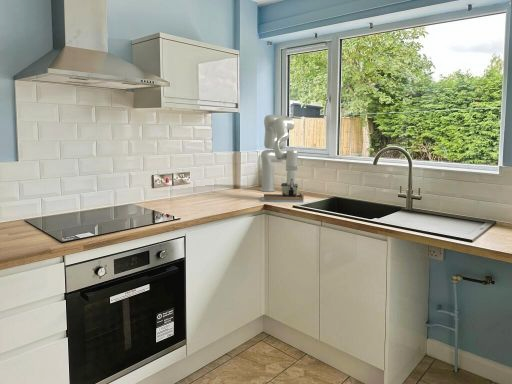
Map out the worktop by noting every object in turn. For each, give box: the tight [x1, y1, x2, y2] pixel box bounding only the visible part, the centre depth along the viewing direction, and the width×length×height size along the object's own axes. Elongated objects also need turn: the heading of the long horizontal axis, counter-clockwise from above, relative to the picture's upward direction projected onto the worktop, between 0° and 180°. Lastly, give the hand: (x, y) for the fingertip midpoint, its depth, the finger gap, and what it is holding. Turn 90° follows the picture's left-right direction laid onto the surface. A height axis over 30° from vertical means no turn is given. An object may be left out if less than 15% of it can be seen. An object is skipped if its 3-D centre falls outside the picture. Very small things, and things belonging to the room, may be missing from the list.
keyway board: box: [260, 191, 305, 203], centre depth 282 cm, size 12×28×5 cm, turn 91°
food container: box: [280, 182, 300, 197], centre depth 283 cm, size 12×6×10 cm, turn 67°
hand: (290, 194), depth 282 cm, fingers closed on food container, 6 cm apart
